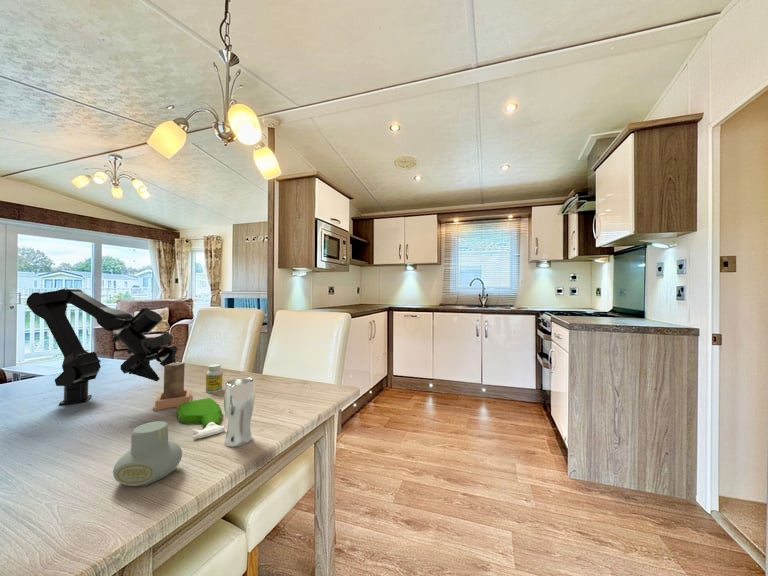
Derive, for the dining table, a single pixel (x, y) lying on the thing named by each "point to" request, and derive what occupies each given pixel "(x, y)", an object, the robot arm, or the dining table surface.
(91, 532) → the dining table surface
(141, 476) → the air freshener
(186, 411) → the spray bottle
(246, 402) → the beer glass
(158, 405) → the jar dish
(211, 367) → the supplement bottle
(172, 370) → the brown wooden block
